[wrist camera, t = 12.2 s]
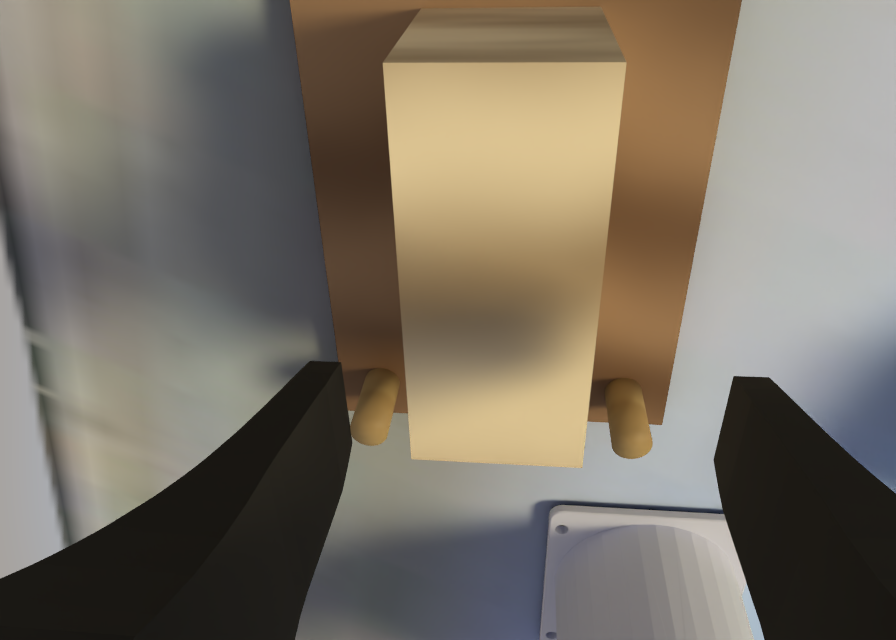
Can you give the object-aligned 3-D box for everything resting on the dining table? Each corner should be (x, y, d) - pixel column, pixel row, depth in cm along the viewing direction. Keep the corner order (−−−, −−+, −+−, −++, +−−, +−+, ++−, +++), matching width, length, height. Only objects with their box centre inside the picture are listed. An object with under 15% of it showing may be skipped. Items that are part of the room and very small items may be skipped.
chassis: (658, 409, 25) (674, 478, 22) (349, 395, 26) (328, 460, 23) (760, -155, 16) (809, -156, 13) (280, -141, 17) (232, -140, 14)
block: (571, 343, 23) (582, 468, 18) (435, 339, 23) (411, 459, 18) (601, 6, 17) (626, 62, 13) (421, 8, 18) (382, 62, 13)
